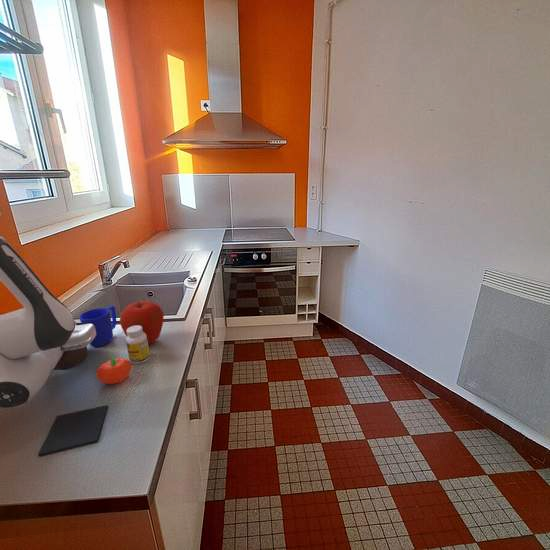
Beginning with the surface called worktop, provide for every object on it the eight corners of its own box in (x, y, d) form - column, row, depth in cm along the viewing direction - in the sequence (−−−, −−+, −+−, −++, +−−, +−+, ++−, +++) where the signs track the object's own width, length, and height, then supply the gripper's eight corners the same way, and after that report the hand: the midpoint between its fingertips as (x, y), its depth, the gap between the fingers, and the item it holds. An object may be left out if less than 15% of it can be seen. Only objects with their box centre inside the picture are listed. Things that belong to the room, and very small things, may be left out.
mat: (38, 456, 57) (37, 454, 57) (57, 417, 66) (56, 415, 66) (97, 442, 59) (97, 439, 59) (108, 406, 69) (107, 404, 68)
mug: (129, 330, 102) (123, 303, 99) (104, 350, 91) (96, 320, 88) (107, 328, 104) (101, 302, 101) (80, 348, 93) (72, 318, 89)
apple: (128, 358, 87) (119, 314, 82) (122, 340, 96) (113, 299, 92) (171, 344, 93) (165, 302, 88) (162, 329, 103) (155, 290, 98)
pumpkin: (102, 374, 80) (97, 353, 78) (134, 368, 82) (130, 348, 80) (95, 392, 73) (89, 370, 71) (130, 385, 75) (125, 363, 73)
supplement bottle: (125, 362, 85) (118, 331, 82) (140, 352, 90) (134, 322, 86) (140, 366, 83) (134, 334, 80) (154, 355, 88) (149, 325, 84)
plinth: (41, 373, 81) (36, 357, 80) (55, 353, 90) (50, 338, 89) (83, 365, 84) (79, 350, 82) (92, 347, 93) (88, 332, 91)
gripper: (85, 333, 74) (99, 310, 86) (-16, 349, 68) (14, 322, 81) (91, 355, 76) (103, 330, 88) (-7, 372, 70) (21, 342, 83)
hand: (60, 326), depth 85 cm, fingers closed on stacking piece, 5 cm apart
